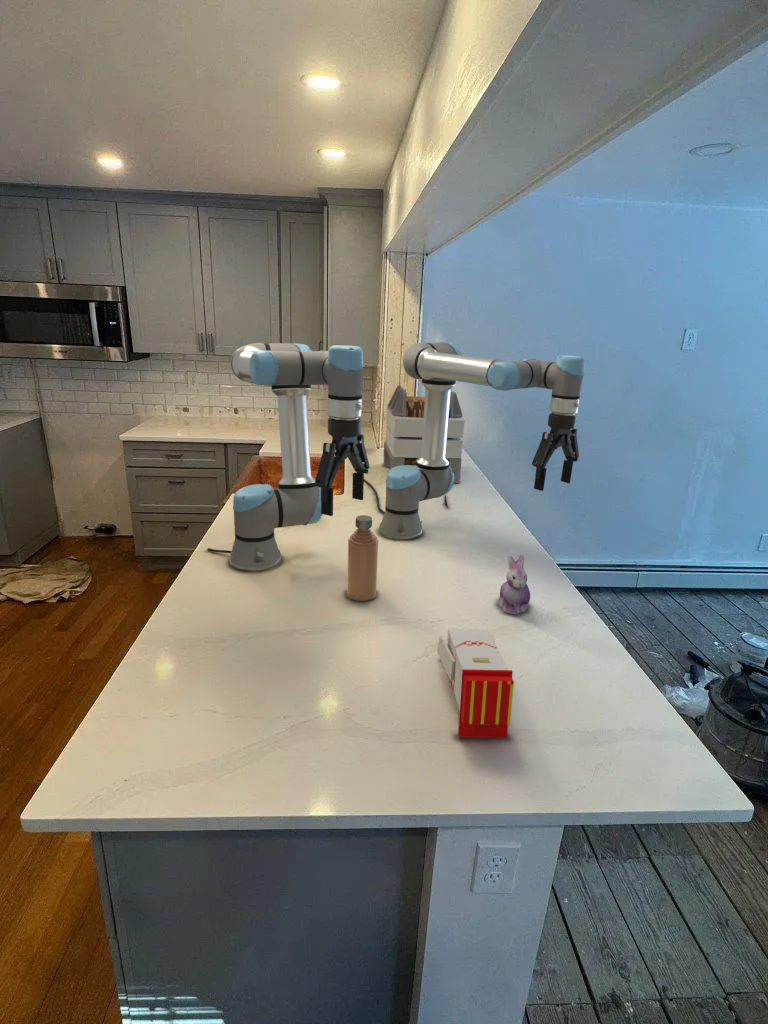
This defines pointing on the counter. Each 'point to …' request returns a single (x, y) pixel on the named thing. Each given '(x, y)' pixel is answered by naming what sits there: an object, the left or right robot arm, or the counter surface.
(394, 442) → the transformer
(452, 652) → the toy
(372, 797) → the counter surface
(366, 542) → the tan bottle
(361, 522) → the cap
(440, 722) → the counter surface
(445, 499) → the feather
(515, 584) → the figurine
